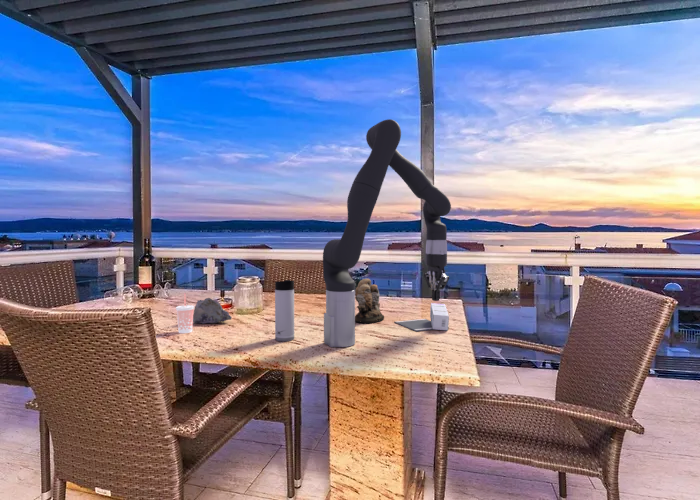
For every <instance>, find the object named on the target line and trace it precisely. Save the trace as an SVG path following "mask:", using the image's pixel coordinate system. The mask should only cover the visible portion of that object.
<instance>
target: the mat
mask: <svg viewBox="0 0 700 500" xmlns="http://www.w3.org/2000/svg"><path fill="white" fill-rule="evenodd" d="M394 324H397V325H398V326H401V327H404V328H407V329H409V330H411V331H414V332H416V333H417V332H419V333H420V332H427V331H435V330H437V329H432V324H431V320H429V319H426V318H419V319H408V320H399V321H394ZM449 328H450V327H449V326H448V329H449Z"/></svg>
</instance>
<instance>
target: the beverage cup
mask: <svg viewBox="0 0 700 500" xmlns="http://www.w3.org/2000/svg"><path fill="white" fill-rule="evenodd" d="M183 295H184V296H183V298H184V299H183V301H184V302H183V305H179V306H178V305H177V306H176V307H175V310H176V317H177V320H176V321H177V329H178V333H179V334H189V333H192V332H193V328H194V327H193V325H194V323H193V314H194V309H195V305H192V304H191V305H189V304H188V305H186V304H187V301H186V299H187V297H186V296H187V295H186V292H183Z"/></svg>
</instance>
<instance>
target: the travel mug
mask: <svg viewBox="0 0 700 500" xmlns="http://www.w3.org/2000/svg"><path fill="white" fill-rule="evenodd" d="M274 287H275V288H274V313H275V314H274V315H275V316H274V328H275V329H274V332H275V333H274V334H275V336H274V337H275V338H274V339H275V340H276V341H277V342H286V343H287V342H290V341H293V340H294V339H295V280H290V279H285V280H280V281H278V280H277V281H274Z"/></svg>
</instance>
